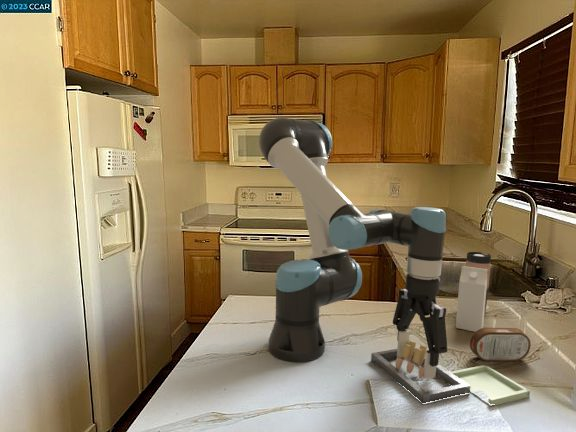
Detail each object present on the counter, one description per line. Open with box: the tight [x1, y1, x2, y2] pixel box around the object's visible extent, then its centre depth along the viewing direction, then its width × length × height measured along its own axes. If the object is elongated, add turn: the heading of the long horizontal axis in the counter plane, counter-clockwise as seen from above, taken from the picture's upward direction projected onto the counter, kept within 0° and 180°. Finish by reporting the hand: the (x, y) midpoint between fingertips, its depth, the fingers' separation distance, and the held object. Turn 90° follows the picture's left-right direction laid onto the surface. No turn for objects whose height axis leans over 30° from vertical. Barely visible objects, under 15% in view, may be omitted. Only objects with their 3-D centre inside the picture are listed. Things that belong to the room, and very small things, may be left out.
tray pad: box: [450, 364, 531, 406], centre depth 91 cm, size 11×12×1 cm
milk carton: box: [455, 265, 487, 333], centre depth 123 cm, size 7×7×19 cm
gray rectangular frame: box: [370, 348, 471, 403], centre depth 95 cm, size 12×20×2 cm, turn 20°
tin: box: [469, 326, 532, 362], centre depth 103 cm, size 15×3×8 cm, turn 92°
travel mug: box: [465, 251, 492, 314], centre depth 138 cm, size 8×8×20 cm
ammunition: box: [395, 340, 428, 379], centre depth 95 cm, size 5×7×8 cm
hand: (415, 366), depth 95 cm, fingers closed on ammunition, 9 cm apart
